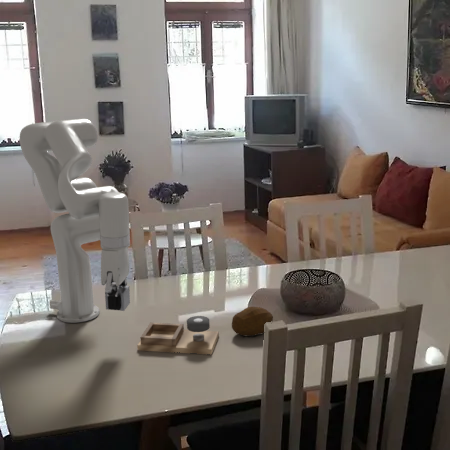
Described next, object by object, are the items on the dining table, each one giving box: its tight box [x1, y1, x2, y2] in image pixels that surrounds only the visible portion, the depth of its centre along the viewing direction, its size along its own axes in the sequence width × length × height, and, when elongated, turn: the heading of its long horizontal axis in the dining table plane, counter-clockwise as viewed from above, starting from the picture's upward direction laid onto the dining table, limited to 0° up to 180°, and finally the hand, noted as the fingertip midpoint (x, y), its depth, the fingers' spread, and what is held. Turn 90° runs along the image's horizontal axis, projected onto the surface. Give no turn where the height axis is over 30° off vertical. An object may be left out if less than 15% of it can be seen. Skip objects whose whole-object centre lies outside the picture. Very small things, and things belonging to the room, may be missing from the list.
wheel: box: [186, 315, 211, 332], centre depth 164 cm, size 6×6×2 cm
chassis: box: [136, 322, 220, 355], centre depth 166 cm, size 20×11×4 cm, turn 81°
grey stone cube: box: [104, 285, 131, 312], centre depth 164 cm, size 5×5×5 cm
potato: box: [231, 306, 274, 337], centre depth 171 cm, size 8×12×8 cm, turn 120°
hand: (117, 304), depth 164 cm, fingers closed on grey stone cube, 5 cm apart
